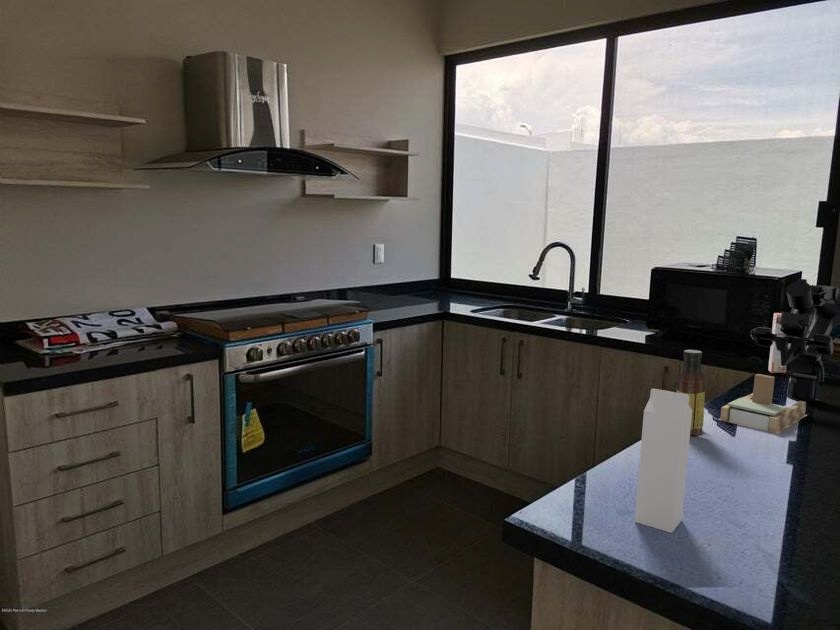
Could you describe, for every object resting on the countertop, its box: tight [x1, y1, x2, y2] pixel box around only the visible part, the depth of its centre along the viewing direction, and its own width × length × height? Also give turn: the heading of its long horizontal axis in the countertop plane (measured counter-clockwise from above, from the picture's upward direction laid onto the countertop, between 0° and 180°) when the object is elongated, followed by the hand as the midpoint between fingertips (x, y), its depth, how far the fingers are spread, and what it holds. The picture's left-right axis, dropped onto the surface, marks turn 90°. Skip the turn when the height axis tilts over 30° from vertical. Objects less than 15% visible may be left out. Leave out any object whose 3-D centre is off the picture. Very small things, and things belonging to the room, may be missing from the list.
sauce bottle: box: [676, 349, 706, 436], centre depth 150 cm, size 6×6×20 cm
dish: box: [729, 407, 773, 430], centre depth 159 cm, size 9×9×3 cm
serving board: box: [717, 392, 808, 435], centre depth 164 cm, size 24×14×4 cm, turn 134°
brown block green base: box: [727, 373, 787, 416], centre depth 159 cm, size 9×11×8 cm
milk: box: [634, 388, 692, 534], centre depth 103 cm, size 6×6×22 cm
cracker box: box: [767, 312, 815, 375], centre depth 219 cm, size 14×6×21 cm, turn 71°
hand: (782, 364), depth 170 cm, fingers closed
